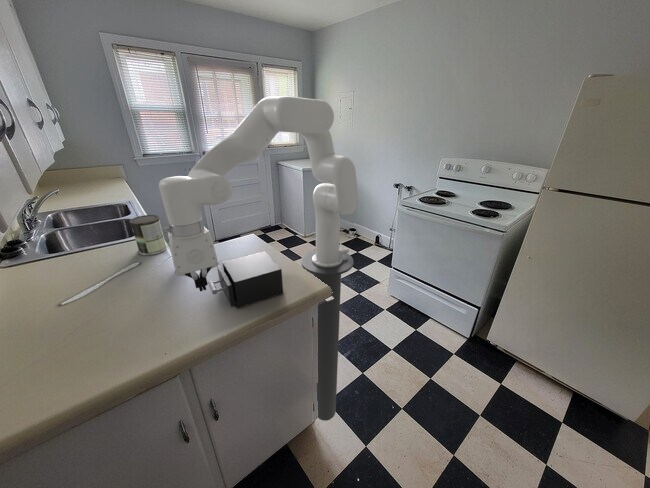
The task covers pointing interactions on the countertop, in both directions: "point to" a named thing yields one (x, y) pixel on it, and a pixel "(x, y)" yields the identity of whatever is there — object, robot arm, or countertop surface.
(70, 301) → the butter knife
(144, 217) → the coffee can
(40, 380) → the countertop surface
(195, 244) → the robot arm
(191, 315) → the countertop surface
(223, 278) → the drawer
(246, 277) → the cabinet
